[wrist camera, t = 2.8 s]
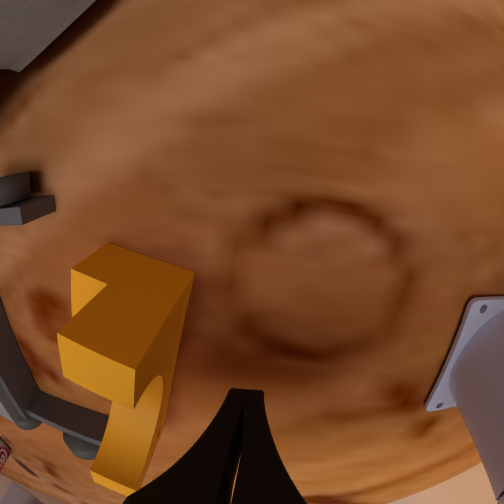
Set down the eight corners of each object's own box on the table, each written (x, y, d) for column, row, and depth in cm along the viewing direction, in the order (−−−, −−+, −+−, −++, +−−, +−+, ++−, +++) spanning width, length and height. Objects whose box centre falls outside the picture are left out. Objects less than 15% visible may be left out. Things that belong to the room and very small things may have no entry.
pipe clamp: (110, 241, 13) (16, 309, 7) (196, 270, 13) (135, 369, 7) (107, 399, 17) (68, 467, 11) (165, 422, 17) (135, 499, 11)
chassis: (51, 167, 12) (-9, 181, 8) (123, 434, 18) (105, 472, 15) (-51, 190, 13) (-88, 203, 9) (15, 391, 20) (-6, 416, 16)
